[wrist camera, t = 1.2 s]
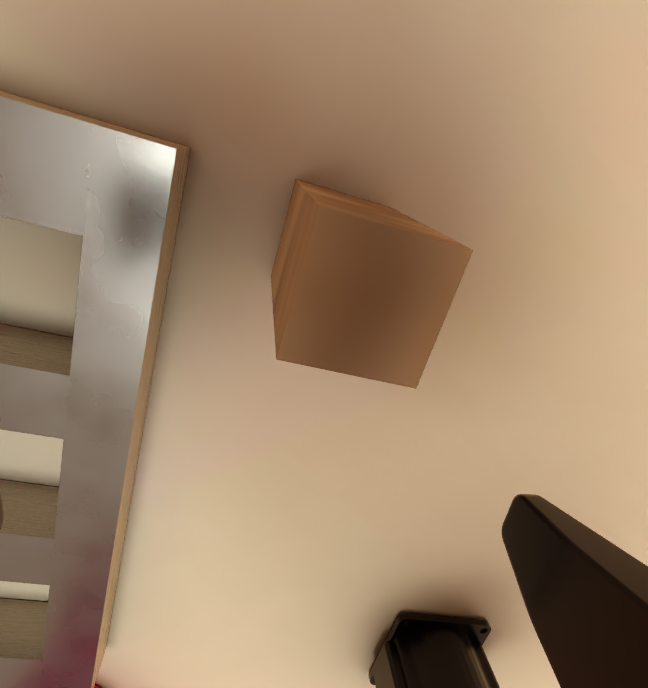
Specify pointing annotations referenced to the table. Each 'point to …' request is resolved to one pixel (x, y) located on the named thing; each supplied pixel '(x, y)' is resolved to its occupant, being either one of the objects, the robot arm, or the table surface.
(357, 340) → the walnut peg
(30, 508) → the grey peg hole board
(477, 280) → the table surface
